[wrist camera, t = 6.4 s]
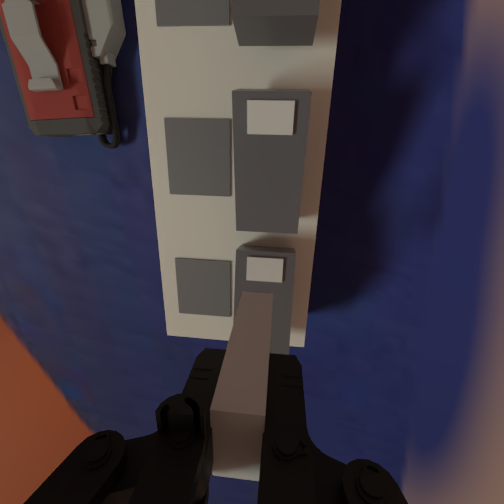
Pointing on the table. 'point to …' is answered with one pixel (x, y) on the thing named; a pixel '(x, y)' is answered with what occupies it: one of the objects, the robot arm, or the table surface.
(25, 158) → the table surface
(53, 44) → the walkie-talkie
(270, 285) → the rocker
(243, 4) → the block
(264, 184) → the rocker
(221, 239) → the power strip
